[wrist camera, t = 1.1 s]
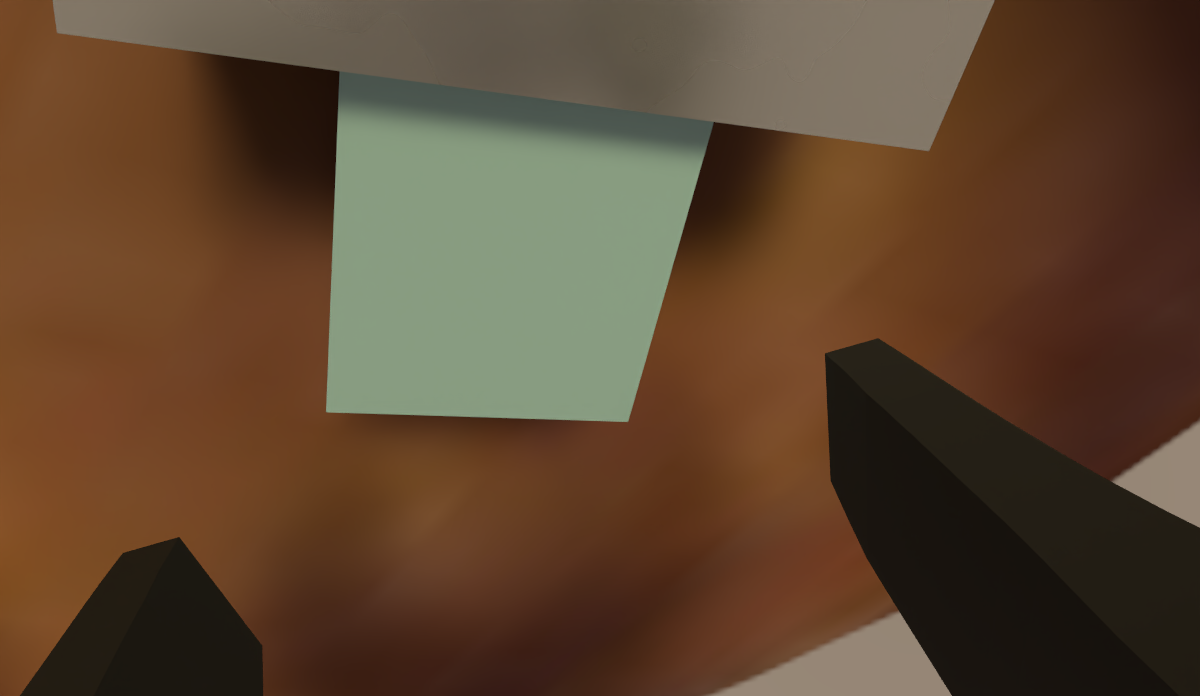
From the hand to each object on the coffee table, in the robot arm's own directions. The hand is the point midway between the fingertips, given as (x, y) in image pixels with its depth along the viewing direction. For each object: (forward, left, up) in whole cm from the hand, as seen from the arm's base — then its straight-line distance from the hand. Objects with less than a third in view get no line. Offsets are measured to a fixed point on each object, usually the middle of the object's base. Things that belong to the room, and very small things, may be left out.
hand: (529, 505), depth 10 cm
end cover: (0, -3, -10) cm, 10 cm away
